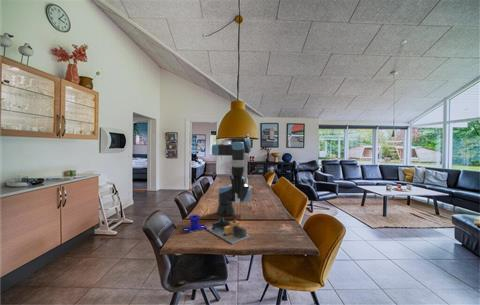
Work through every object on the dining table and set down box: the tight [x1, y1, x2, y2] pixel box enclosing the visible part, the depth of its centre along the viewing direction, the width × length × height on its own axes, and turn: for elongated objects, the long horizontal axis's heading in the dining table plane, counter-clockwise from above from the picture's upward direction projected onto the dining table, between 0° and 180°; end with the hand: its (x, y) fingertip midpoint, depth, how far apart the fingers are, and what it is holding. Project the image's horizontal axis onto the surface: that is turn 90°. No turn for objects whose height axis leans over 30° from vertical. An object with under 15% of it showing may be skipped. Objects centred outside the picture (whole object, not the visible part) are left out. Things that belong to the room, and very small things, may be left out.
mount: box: [182, 214, 207, 233], centre depth 145 cm, size 15×8×9 cm, turn 119°
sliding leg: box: [224, 219, 240, 235], centre depth 137 cm, size 3×11×7 cm, turn 132°
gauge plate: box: [205, 216, 250, 245], centre depth 139 cm, size 28×14×7 cm, turn 42°
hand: (237, 203), depth 134 cm, fingers closed
